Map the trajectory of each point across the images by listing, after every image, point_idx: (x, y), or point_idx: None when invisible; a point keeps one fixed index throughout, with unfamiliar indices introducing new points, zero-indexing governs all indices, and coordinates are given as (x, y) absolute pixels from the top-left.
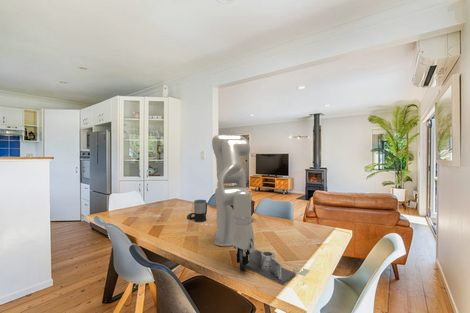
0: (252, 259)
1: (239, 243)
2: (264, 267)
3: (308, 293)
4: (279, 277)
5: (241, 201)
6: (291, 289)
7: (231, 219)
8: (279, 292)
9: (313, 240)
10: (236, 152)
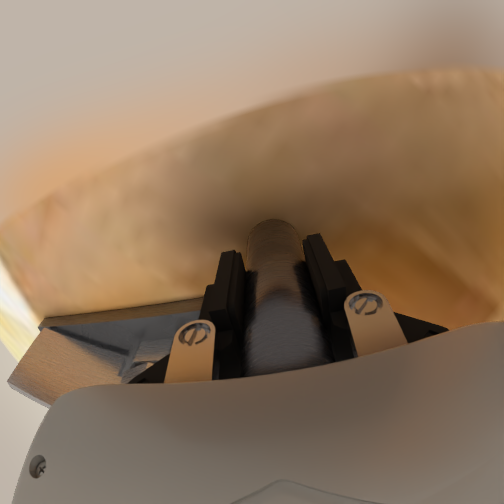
0: None
1: (201, 494)
2: (145, 354)
3: (4, 335)
4: (41, 334)
5: None
6: (19, 316)
7: None
8: (5, 267)
9: None
10: None
